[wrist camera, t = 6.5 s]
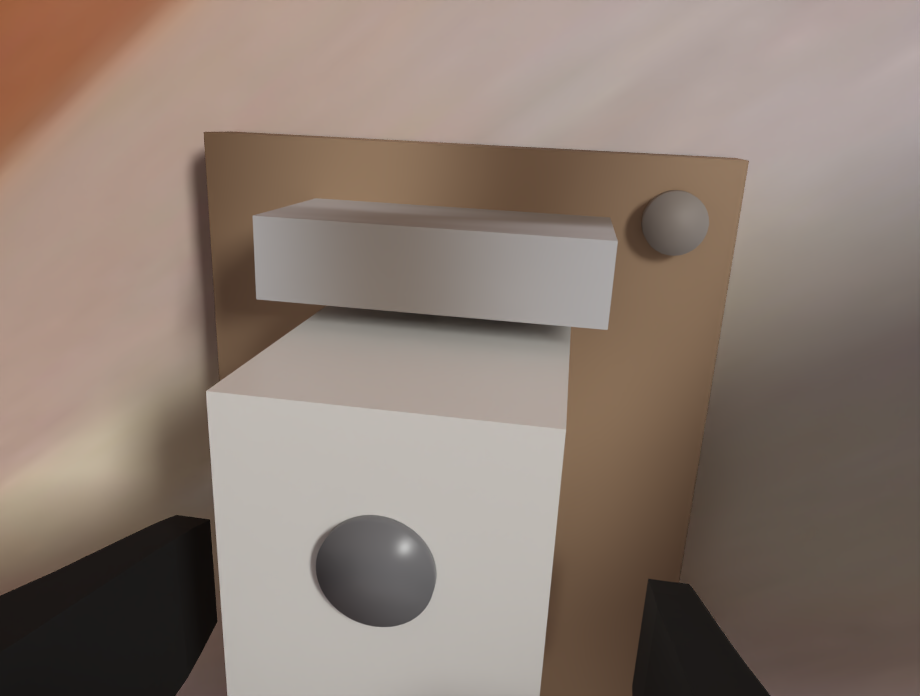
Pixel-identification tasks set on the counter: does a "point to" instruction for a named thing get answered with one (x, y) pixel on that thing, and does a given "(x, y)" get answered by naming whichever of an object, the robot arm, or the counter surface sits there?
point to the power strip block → (389, 505)
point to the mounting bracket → (514, 318)
